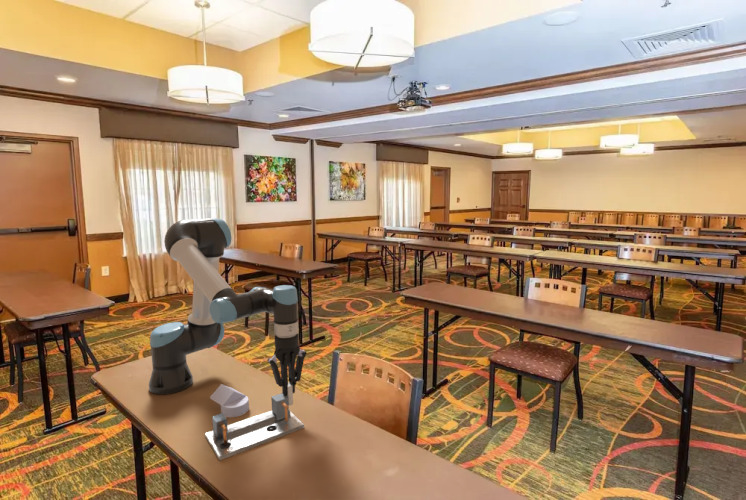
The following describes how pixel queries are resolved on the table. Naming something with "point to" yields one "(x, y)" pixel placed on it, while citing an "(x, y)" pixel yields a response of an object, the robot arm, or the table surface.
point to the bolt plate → (248, 432)
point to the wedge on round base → (231, 401)
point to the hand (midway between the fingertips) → (289, 403)
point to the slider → (280, 406)
